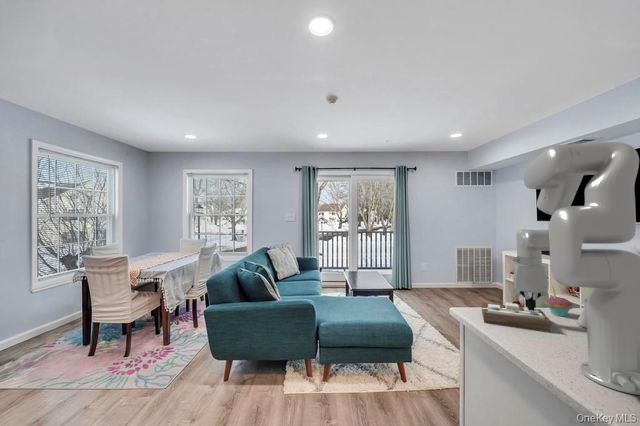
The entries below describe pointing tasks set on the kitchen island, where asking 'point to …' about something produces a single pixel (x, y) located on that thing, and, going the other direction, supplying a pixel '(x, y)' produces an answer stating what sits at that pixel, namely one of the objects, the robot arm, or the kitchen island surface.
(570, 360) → the kitchen island surface
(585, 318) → the flask
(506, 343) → the kitchen island surface
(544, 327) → the board
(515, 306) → the button mid
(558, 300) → the cupcake
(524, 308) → the button right
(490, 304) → the white square block
